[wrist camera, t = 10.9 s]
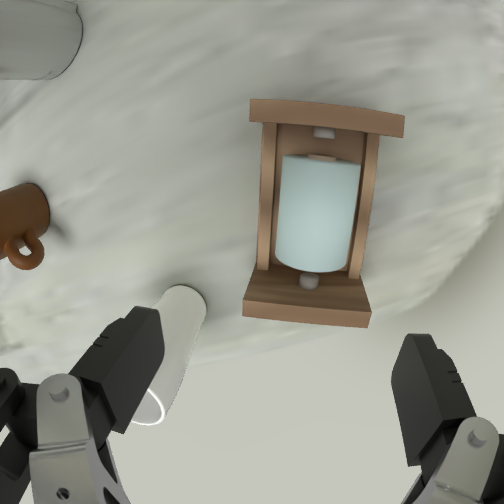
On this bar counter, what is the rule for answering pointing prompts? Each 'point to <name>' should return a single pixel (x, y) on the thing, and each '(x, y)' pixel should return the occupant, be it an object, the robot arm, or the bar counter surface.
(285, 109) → the roll holder
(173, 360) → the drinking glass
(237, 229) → the bar counter surface
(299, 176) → the paper roll
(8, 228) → the mug
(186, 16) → the bar counter surface
